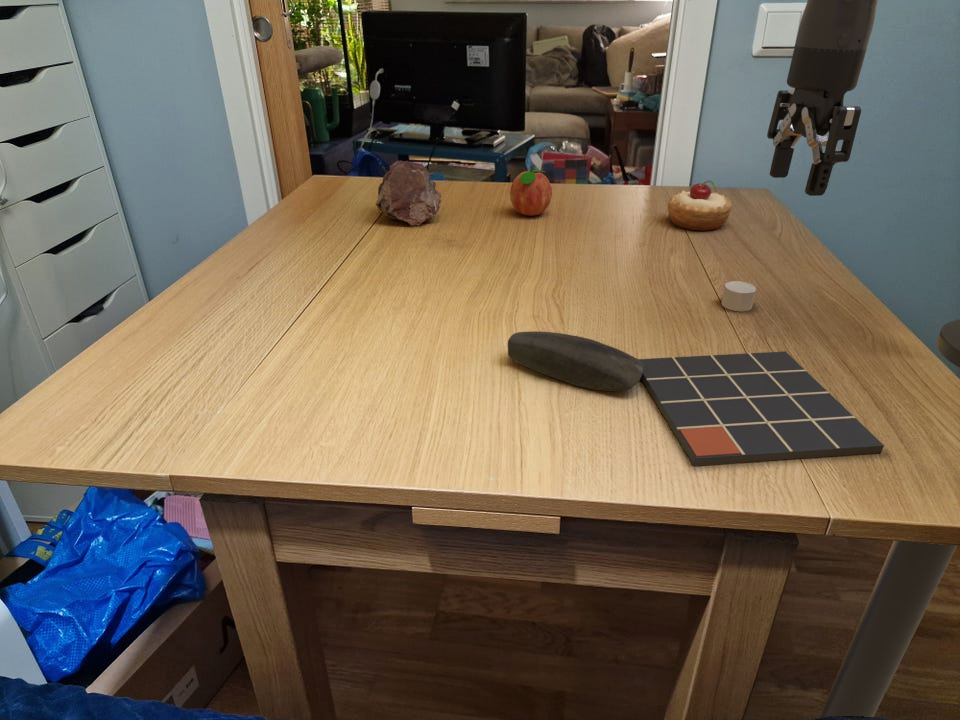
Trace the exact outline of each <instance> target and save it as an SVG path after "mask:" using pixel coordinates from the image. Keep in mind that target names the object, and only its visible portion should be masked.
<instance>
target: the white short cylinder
mask: <svg viewBox="0 0 960 720" xmlns="http://www.w3.org/2000/svg"><path fill="white" fill-rule="evenodd" d="M756 293H757V286H755V285H754V284H751V283H749V282H745V281H739V280H736V281H735V280H733V281H732V280H731V281H728V282H726V283H725V284H724V287H723V293H722V296H721V297H722V298H721V302H720V304H721V306H722V307H723V308H725V309H726V310H729V311H734V312H748V311H751V310H752V309H753V307H754V303H755V297H756Z"/></svg>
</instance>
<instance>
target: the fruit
mask: <svg viewBox="0 0 960 720" xmlns="http://www.w3.org/2000/svg"><path fill="white" fill-rule="evenodd" d="M545 174H546V175H547V174H548V172H547V171H544V170H539V169H534V165H533V164H531V165H530V170H526V171H522V172H520V173H519V174H518V175H517V176H516V177H515V178H514V179H513V182H512V184H511V185H510V186H511V187H510V190H509V197H510V198H509V199H510V202H511V204H512V206H513V209H515V210H516V212H518V214H520V215H523V216H531V217H532V216H539V215H541V214H543V213H544V212H545V211H546V210H547V209H548V207H549V206H550V204H551V201H552V197H553V189H552V185H551V182H550V180H549V179H548V177H547V176H546V175H545Z"/></svg>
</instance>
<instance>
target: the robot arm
mask: <svg viewBox="0 0 960 720" xmlns="http://www.w3.org/2000/svg"><path fill="white" fill-rule="evenodd" d="M878 1H879V0H806V4H805V7H804V10H803V13H802V15H801V19H800V21H799V25H798V30H797V35H796V38H795V43H794V48H793V51H792V57H791V61H790V65H789V69H788V73H787V78H786V84H787V86H788V87H789V88H792V89H785V90H779V91H778V92H777V94H776V98H775V102H774V106H773V109H772V113H771V117H770V122H769V125H768V128H767V129H768V130H767V133H766V134H767V135H766V137H767V139H769V140H772V145H773V147H775V148H774V152H773V157H772V160H771V165H770V170H769V176H770V177H772V178H774V179H783V178H786V177H788V175H789V172H790V168H791V164H792V159H793V155H794V153H795V148H793V147H794V146H795V145H796V144H797V142H798V141H799V140H800V138H801V137H803V138H805V139H806V144H807V146H809V147H810V148H811V152H812V160H813V162H812V163H811V166H810V169H809V174H808V177H807V181H806V186H805V189H804V193H805V194H806V195H808V196H811V197H818V196H823V195H824V194H825V193H826V191H827V189H828V186H829V182H830V178H831V174H832V171H833V168H834V166H835V165H837V164H838V163H847V162H848V161H850V158H851V153H852V150H853V147H854V142H855V139H856V134H857V129H858V126H859V122H860V118H861V115H862V114H861V113H862V108H861V107H860V105H859V106H855V105H851V106H850V105H849V106H847V105H845V106H844V99H845V95H846V93H848V92H851V91H853V90H854V89H856V87H857V85H858V82H859V79H860V75H861V71H862V67H863V64H864V61H865V56H866V53H867V50H868V46H869V43H870V39H871V35H872V32H873V28H874V24H875V19H876V14H877V13H876V12H877V6H878ZM780 121H781V123H780V124H779V122H780ZM827 134H828V135H827ZM840 141H842V143H841V147H840V150H839V147H838V143H839V142H840ZM823 147H825V149H824V150H823Z"/></svg>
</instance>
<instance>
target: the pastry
mask: <svg viewBox="0 0 960 720" xmlns="http://www.w3.org/2000/svg"><path fill="white" fill-rule="evenodd" d="M706 183H710V184H712V188H713V190H714V192H712V188H711V187H710V186H709V185H708V184H706ZM732 208H733V203H732V201H731V199H730V198H729V197H728V196H725V195H724V194H722V193H721V194H719V193H718V192H717V189H716V184H715V182H714V181H713V180H706V181H704V182H703V183H701V182H699V183H695V184H692V186H690V189H689V190H688V191H686V190H684V189H683V190H681V192H676V193H674V194H672V195H671V196H670V197H669V198H668V202H667V213H668V216H669V218H670V220H671V222H672V223H673V224H674V225H675V226H677V227H679V228H683V229H686V230H692V231H702V232H703V231H712V230H717V229H720V228H721V227H722V226H723V225H724V224H725V223H726V222H727V220H728V219H729V217H730V215H731V212H732Z"/></svg>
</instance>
